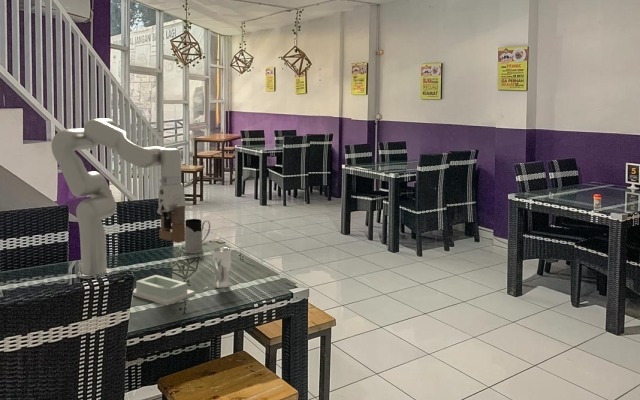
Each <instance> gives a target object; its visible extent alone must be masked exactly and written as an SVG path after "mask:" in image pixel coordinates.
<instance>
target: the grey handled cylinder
mask: <svg viewBox="0 0 640 400" xmlns="http://www.w3.org/2000/svg"><path fill="white" fill-rule="evenodd" d="M206 222H207V223H208V230H207V233H206V235H205V236H204V238H203V231H204V226H205V223H206ZM184 224H185V241H184V242H185V243H184V244H185V247H184V248H185V249H184V253H186V254H199V253H203V252H204V250H203V242H204V241H205V240H206V238H207V237H208V235H209V233H210V231H211V223H210V221H209V220H205V221H203V222H202V219H199V218H188V219H185V223H184Z"/></svg>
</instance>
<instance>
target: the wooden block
mask: <svg viewBox="0 0 640 400" xmlns="http://www.w3.org/2000/svg"><path fill="white" fill-rule="evenodd" d="M185 211H186V205H185V206H180V207H177V209H176V210H175V211H174V212H173V211H172V213H171V214H170V219H171V229H167V228H164V218H163V217H162V216H161V215H160V229H159V230H158V238H159V239H160V240H165V241H170V242H173V243H177V244H178V243H183V242H185V220H186V214H185V213H186V212H185ZM166 214H167V212H166Z"/></svg>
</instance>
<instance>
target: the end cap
mask: <svg viewBox="0 0 640 400" xmlns="http://www.w3.org/2000/svg"><path fill="white" fill-rule="evenodd" d="M133 289H134V291H133V295H132V296H135V297H138V298H141V299H144V300H148V301H151V302H153V303H157V304H160V305H164V306H169V305H172V304H174V303H176V302H178V301H181V300H184V299H186V298H187V299H188V298H189V297H192V296H194V295H196V291H195V290H191V289H188V282H186V281H185V282H184V281H182V280H181V281H180V280H177V279H173V278H170V277H165V276H162V275H159V274H154V275H151V276H148V277H145V278H142V279H138V280H135V288H133Z"/></svg>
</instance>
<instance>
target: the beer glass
mask: <svg viewBox="0 0 640 400" xmlns="http://www.w3.org/2000/svg"><path fill="white" fill-rule="evenodd" d="M231 250H232V249H231V248H230V247H227V246H226V247H225V246H218V247H215V248H213V251H212V252H213V253H212V264H213V269H214V270H213V271H214V277H215V278H214V285H213V287H215V288H216V289H228V288H230V285H231V284H230V271H231V265H232V254H231V253H232V251H231Z"/></svg>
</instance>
